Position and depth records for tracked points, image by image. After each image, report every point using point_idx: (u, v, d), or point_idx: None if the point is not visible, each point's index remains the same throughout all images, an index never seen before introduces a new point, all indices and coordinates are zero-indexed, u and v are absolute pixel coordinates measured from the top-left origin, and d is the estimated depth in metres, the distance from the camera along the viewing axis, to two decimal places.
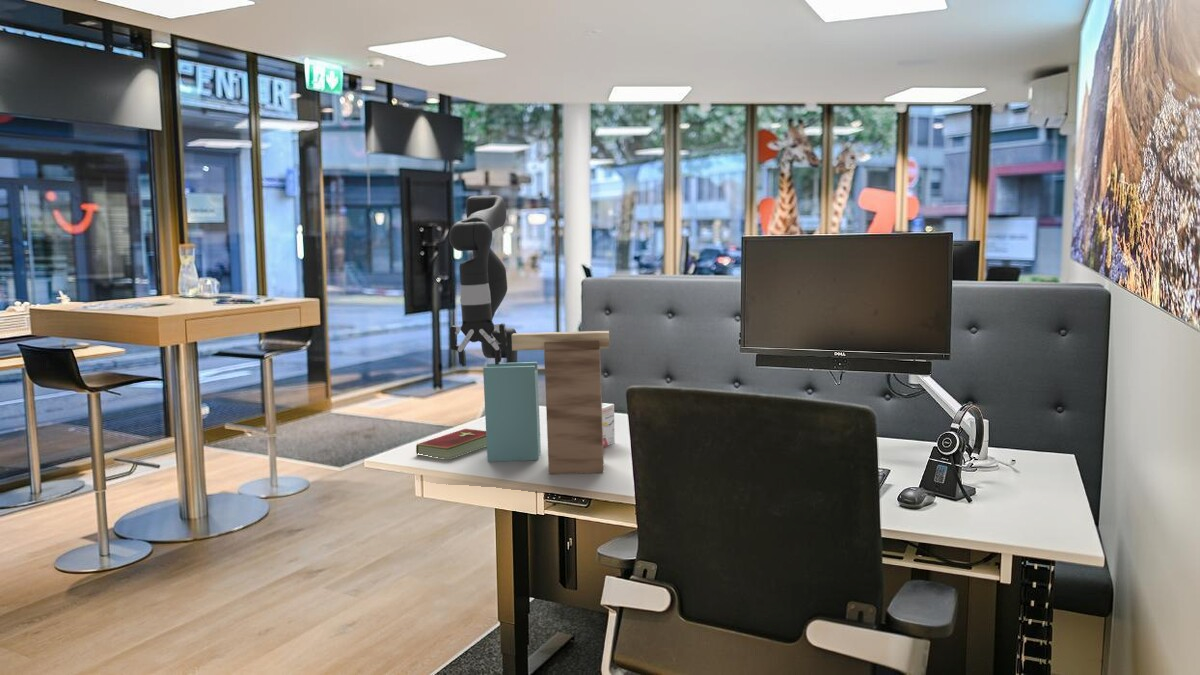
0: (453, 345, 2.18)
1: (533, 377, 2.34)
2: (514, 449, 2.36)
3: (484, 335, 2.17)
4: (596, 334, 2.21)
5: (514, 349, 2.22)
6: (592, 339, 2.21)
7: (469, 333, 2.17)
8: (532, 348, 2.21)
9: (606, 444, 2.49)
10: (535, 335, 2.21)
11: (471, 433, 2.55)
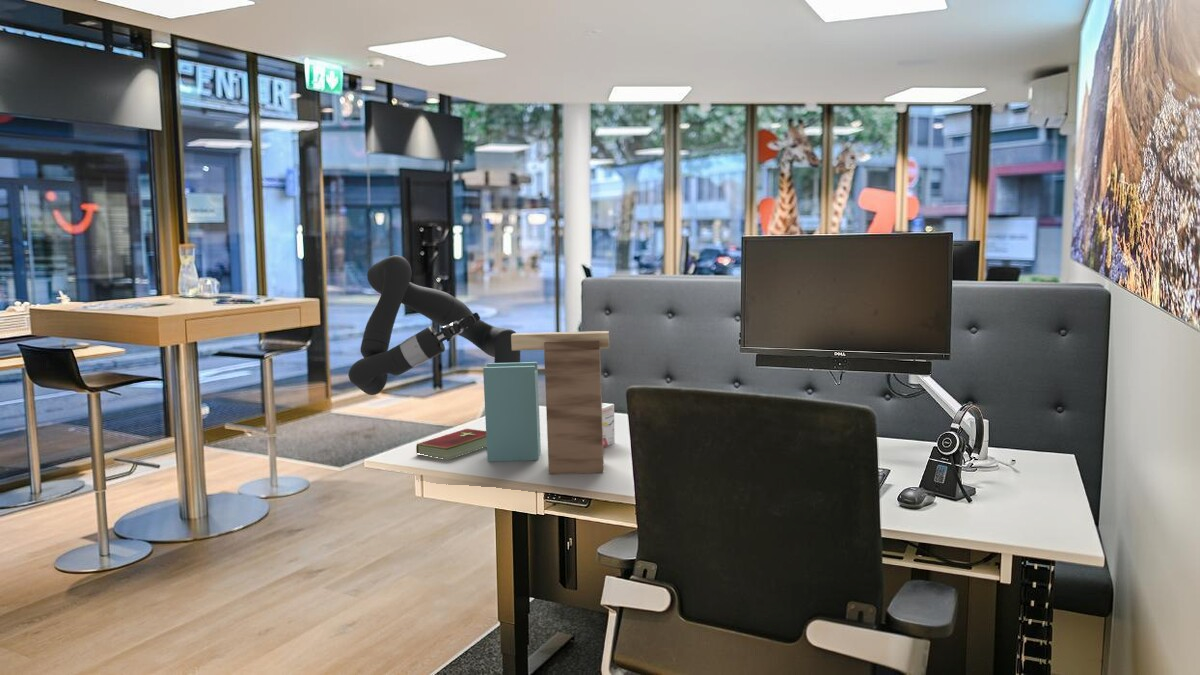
0: None
1: (533, 377, 2.34)
2: (514, 449, 2.36)
3: (452, 337, 2.22)
4: (595, 334, 2.20)
5: (514, 349, 2.22)
6: (591, 339, 2.20)
7: (452, 338, 2.25)
8: (531, 348, 2.21)
9: (606, 444, 2.49)
10: (534, 335, 2.21)
11: (472, 433, 2.55)
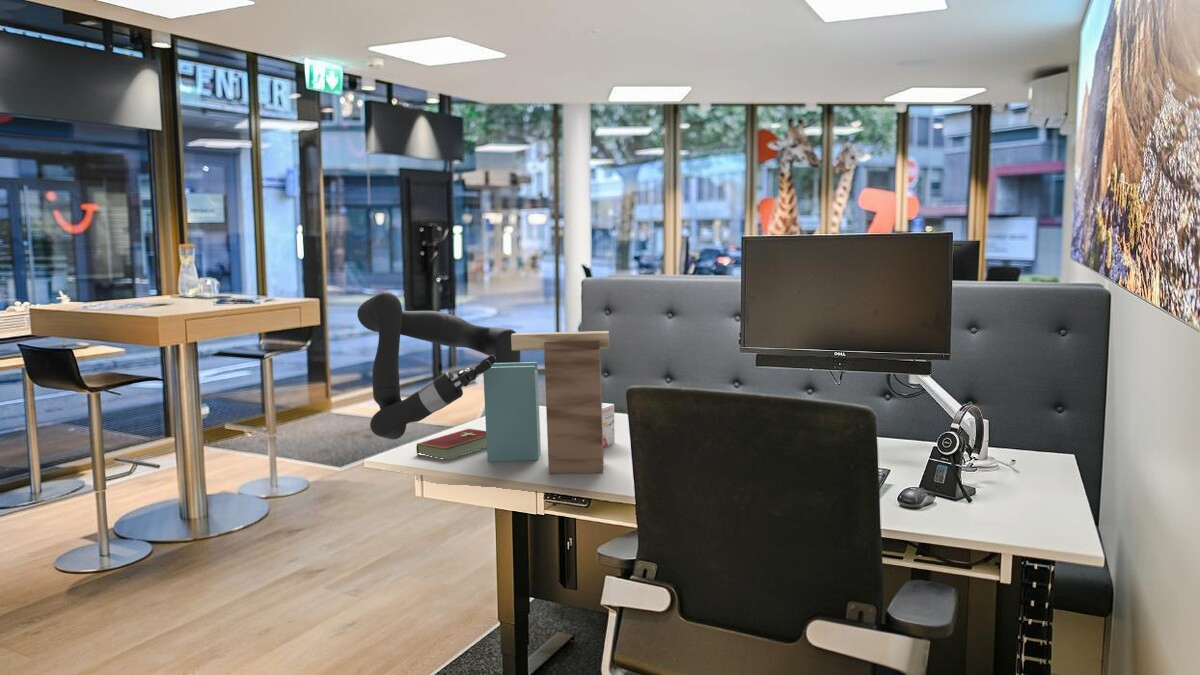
0: None
1: (533, 377, 2.34)
2: (514, 449, 2.36)
3: (469, 382, 2.23)
4: (595, 334, 2.20)
5: (514, 349, 2.22)
6: (591, 339, 2.20)
7: None
8: (531, 348, 2.21)
9: (606, 444, 2.49)
10: (534, 335, 2.21)
11: (473, 433, 2.55)
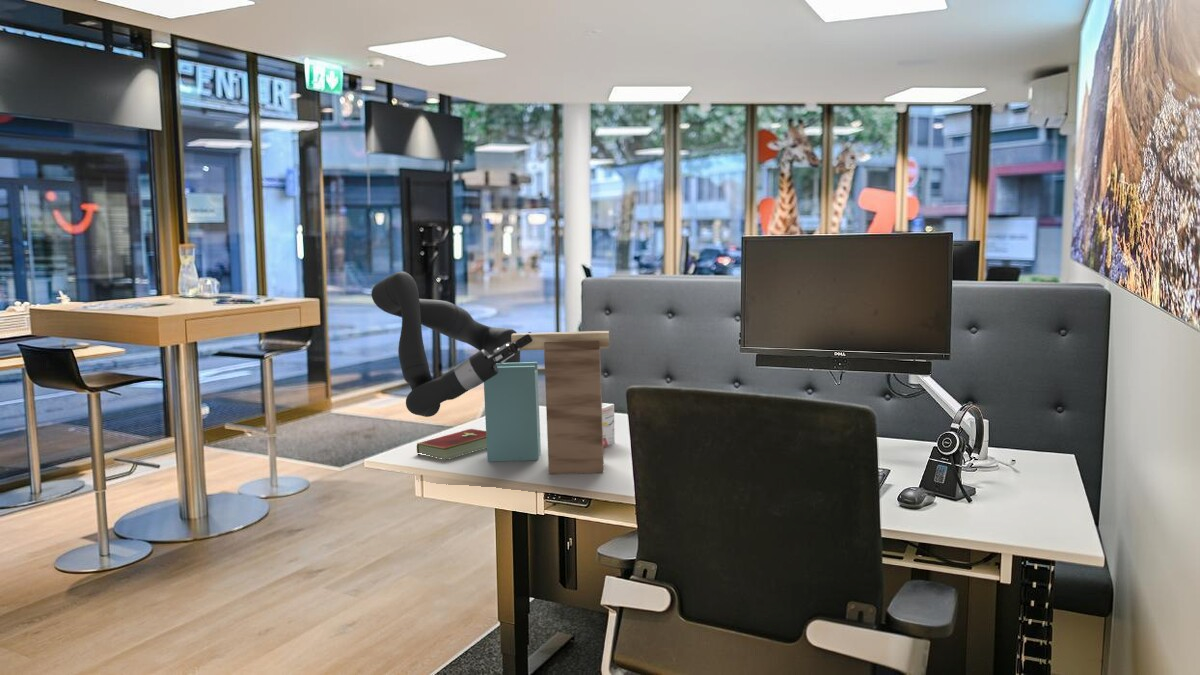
0: None
1: (533, 377, 2.34)
2: (514, 449, 2.36)
3: (506, 359, 2.22)
4: (596, 334, 2.20)
5: None
6: (592, 339, 2.21)
7: None
8: (532, 348, 2.21)
9: (606, 444, 2.49)
10: (535, 335, 2.21)
11: (474, 433, 2.55)
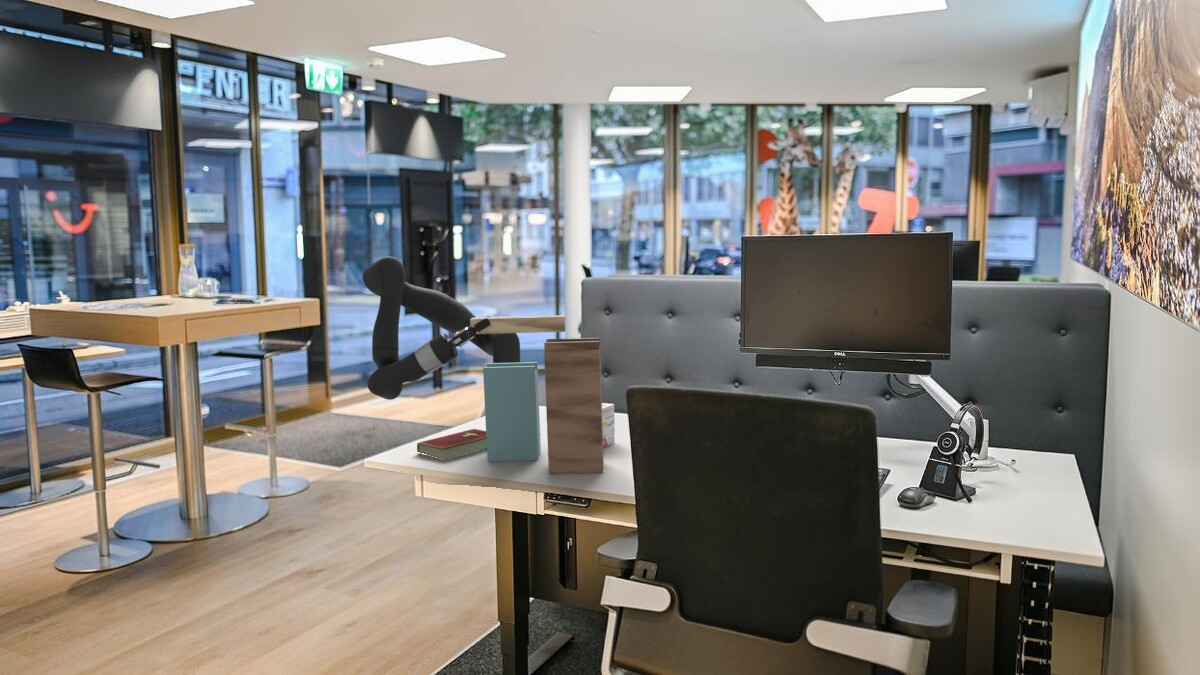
0: None
1: (533, 377, 2.34)
2: (514, 449, 2.36)
3: (465, 342, 2.30)
4: (552, 318, 2.28)
5: None
6: (548, 323, 2.28)
7: (465, 343, 2.33)
8: (490, 332, 2.29)
9: (606, 444, 2.49)
10: (493, 319, 2.28)
11: (476, 434, 2.54)
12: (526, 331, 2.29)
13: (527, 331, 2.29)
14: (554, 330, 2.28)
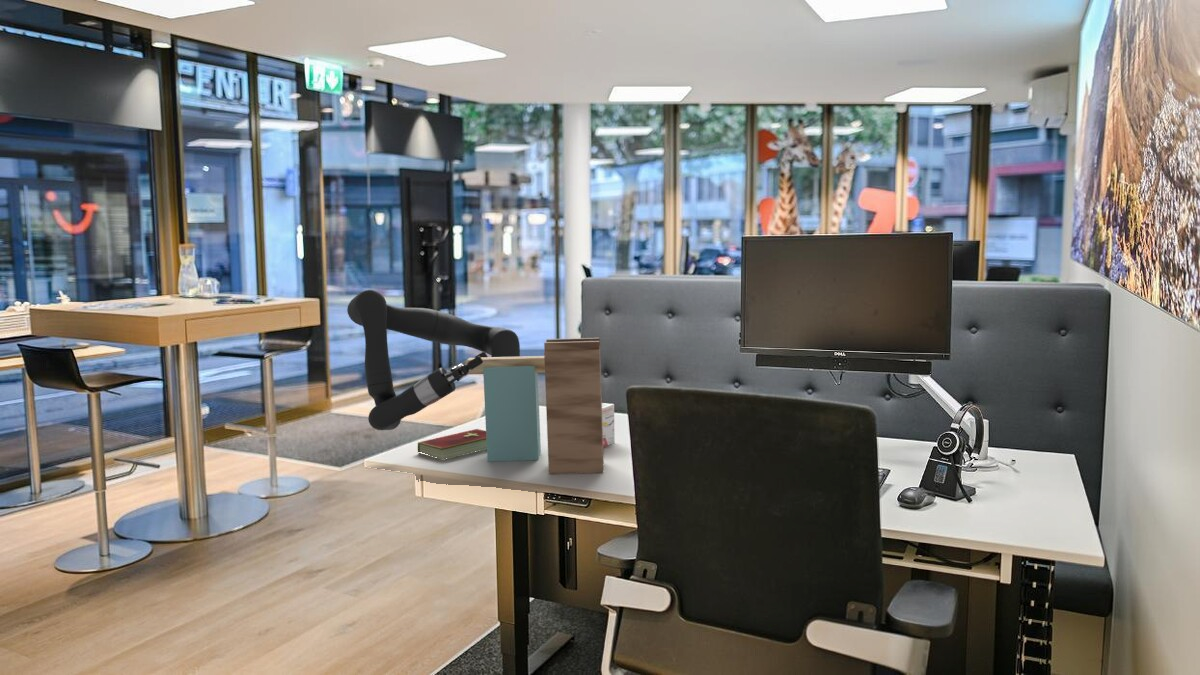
0: None
1: (533, 377, 2.34)
2: (514, 449, 2.36)
3: (462, 377, 2.36)
4: None
5: (469, 373, 2.36)
6: (542, 363, 2.35)
7: None
8: None
9: (606, 444, 2.49)
10: (489, 359, 2.35)
11: (477, 434, 2.54)
12: None
13: None
14: None
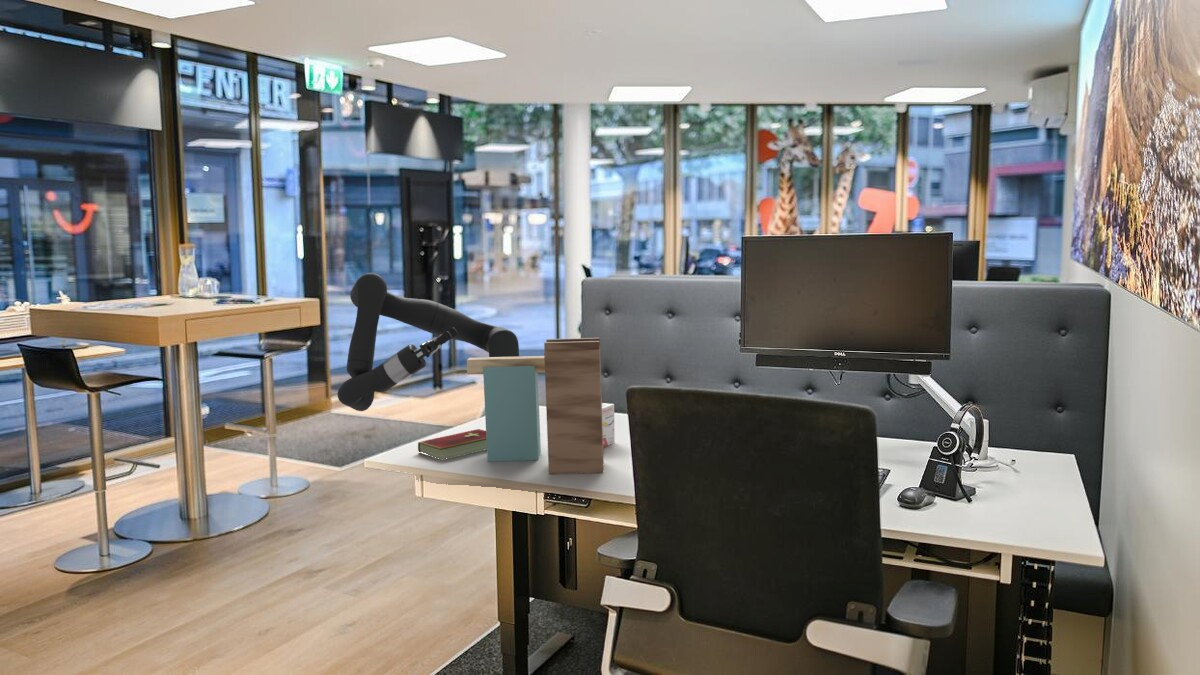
0: None
1: (533, 377, 2.34)
2: (514, 449, 2.36)
3: (431, 353, 2.35)
4: None
5: (469, 373, 2.36)
6: (542, 363, 2.35)
7: (432, 353, 2.39)
8: None
9: (606, 444, 2.49)
10: (489, 359, 2.35)
11: (478, 434, 2.54)
12: None
13: None
14: None
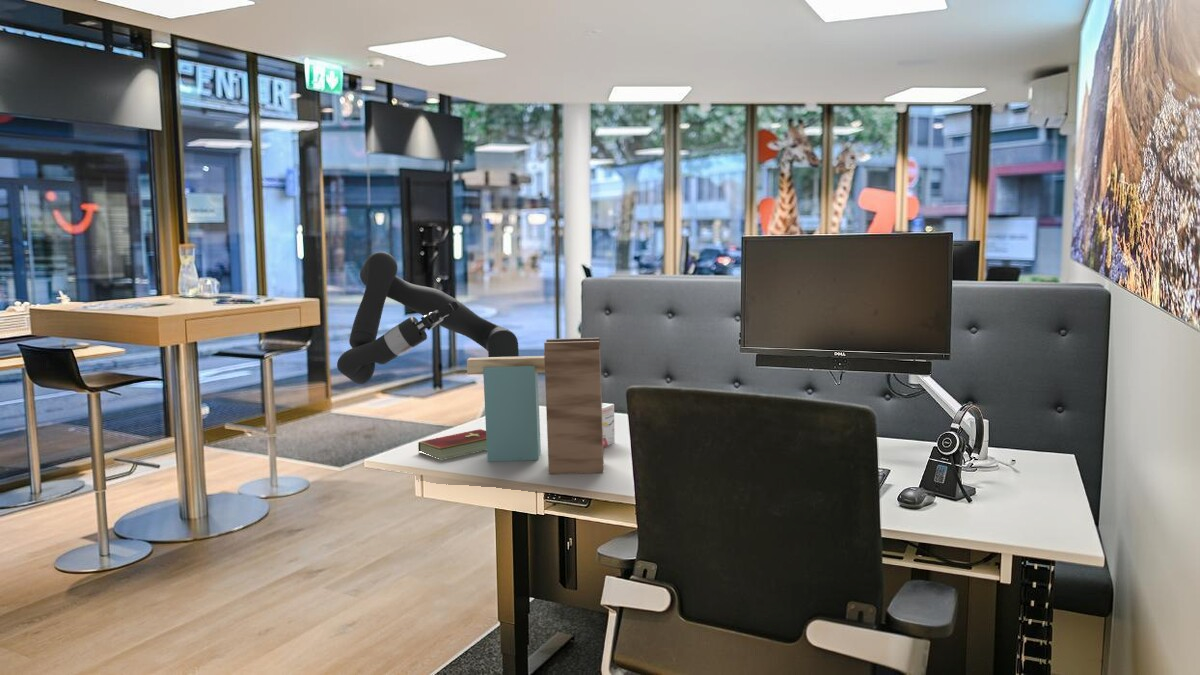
0: None
1: (533, 377, 2.34)
2: (514, 449, 2.36)
3: (433, 326, 2.33)
4: None
5: (469, 373, 2.36)
6: (542, 363, 2.35)
7: (434, 326, 2.37)
8: None
9: (606, 444, 2.49)
10: (489, 359, 2.35)
11: (479, 434, 2.53)
12: None
13: None
14: None
